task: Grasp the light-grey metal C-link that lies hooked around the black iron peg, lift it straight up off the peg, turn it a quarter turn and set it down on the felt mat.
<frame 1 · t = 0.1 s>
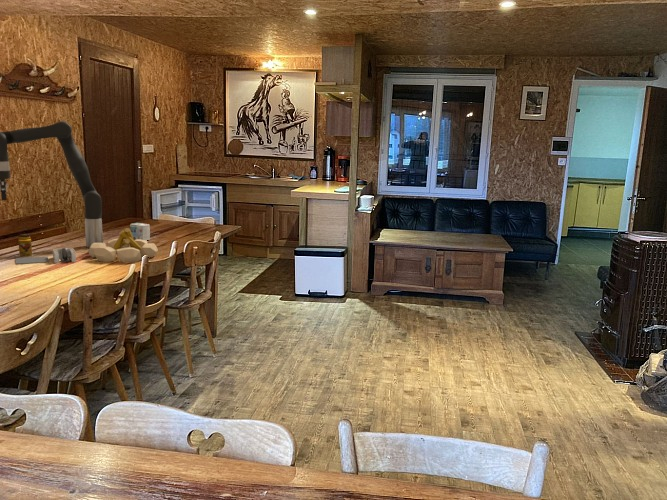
hand: (4, 199, 299), 29 cm above the table, tool pointing down, fingers open, 8 cm apart
light bulb box: (140, 240, 353), on the table
campfire: (123, 257, 306), on the table
peg stand: (65, 261, 288), on the table
condiment: (25, 256, 297), on the table
c link: (64, 259, 291), on the table
mat: (32, 260, 286), on the table
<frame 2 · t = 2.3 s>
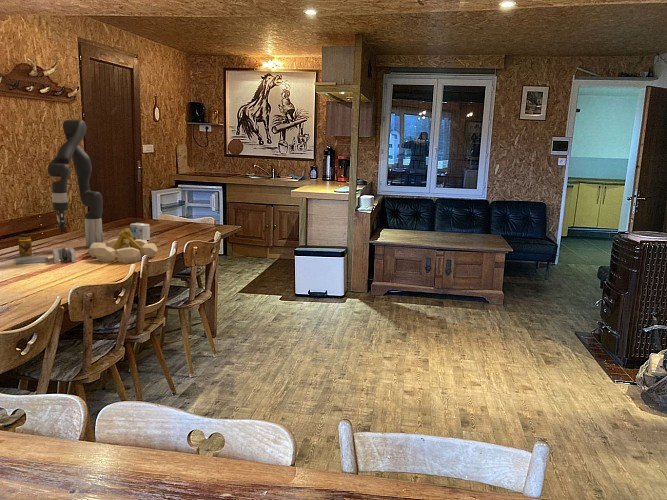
hand: (61, 231, 293), 15 cm above the table, tool pointing down, fingers open, 8 cm apart
nothing on the table moved.
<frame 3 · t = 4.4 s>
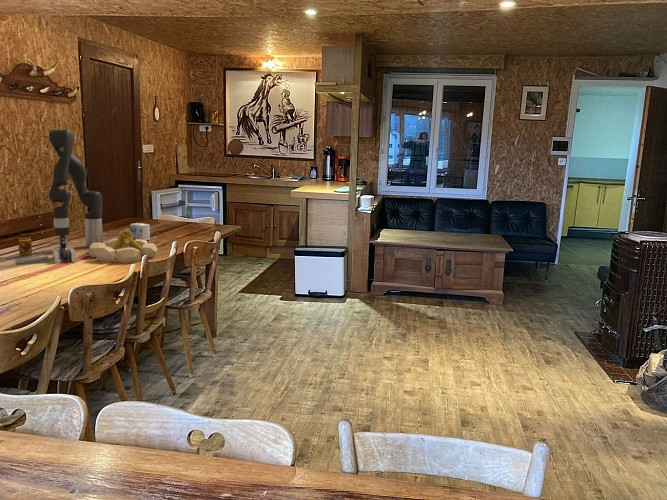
hand: (63, 257, 296), 0 cm above the table, tool pointing down, fingers closed on c link
c link: (64, 259, 291), on the table, touching gripper
everything else where it was.
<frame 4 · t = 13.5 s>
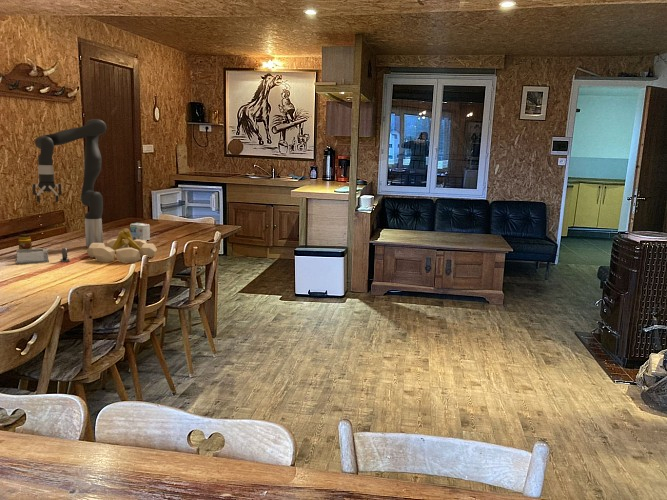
hand: (47, 202, 303), 28 cm above the table, tool pointing down, fingers open, 8 cm apart
c link: (32, 259, 286), resting on mat
everything else where it was.
at the end: c link inside the target area on the mat (0.2 cm from its centre), point 0.4 cm above the mat's base; c link touching mat; the gripper is holding nothing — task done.
